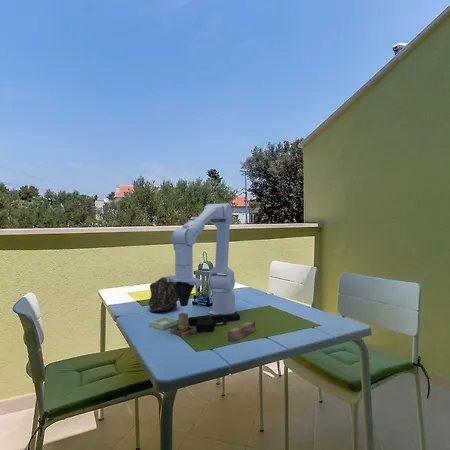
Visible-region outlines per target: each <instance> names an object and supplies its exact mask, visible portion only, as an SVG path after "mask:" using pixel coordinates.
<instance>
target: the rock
mask: <svg viewBox="0 0 450 450" xmlns="http://www.w3.org/2000/svg"><path fill="white" fill-rule="evenodd" d="M173 285H176V282H167V276H165V277H164V276H162V277H159V279H158V280H156V281H155V282H152V283H150V285H149V290H150V298H149V299H148V307H149V309H150V311H151V312H152V313H159V312H162V311H166V310H173V311H174V310H175V309H176V308H177V307H178V303H177V302H178V301H179V298H178V295H177V292H176V290H175V289H174V287H173Z"/></svg>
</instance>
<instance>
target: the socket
mask: <svg viewBox="0 0 450 450" xmlns="http://www.w3.org/2000/svg"><path fill="white" fill-rule="evenodd" d="M196 333H198V332H197V329H196V326H195V327H194V326H190V325H188V331H186V332H182V331H179V326H175V327H172V328H170V329H169V334H171V335H175V336H178V337H182V338H186V337H188V336H191V335H194V334H196Z"/></svg>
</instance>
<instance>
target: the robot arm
mask: <svg viewBox="0 0 450 450" xmlns="http://www.w3.org/2000/svg"><path fill="white" fill-rule="evenodd" d="M233 212H234V211H233V207H232V205H231V204H230V203H228V202H225V203H207V204H206V205H205V206H204V207H203V211H202V212H201V213H200V214H199V216H191V217H190V218H189V220H188V221H187V222H186V223H184V224H183V225H182V227H180V228H179V227H178V228H176V229H174V230H173V231H172V235H171V236H170V239H171V243H172V245H173V250H174V254H175V255H174V260H175V261H174V264H175V265H174V267H175V268H174V271H175V273H174V274H175V275H167V276H166V277H167V282H176V285H173V287H174V289H175V290H176V292H177V295H178V301H179V304H180V307H186V306H188V305H189V300H190V297H191V294H192V291H193V290H194V288H195V287H202V286H203V279H200V278H198V277H197V278H196V277H193V274H194V273H193V268H194V267H193V266H194V265H193V261H194V260H193V253H194V252H193V248H194V247H193V245H195V244H196V241H197V238H198V236H199V235H200V234H201V233H202V232H203V231H204V230H205V225H207V223H208V222H210V223H211V224H212V225H214V226H215V227H216V241H215V263H214V264H215V265H214V267H213V268H212V269H210V270H209V276H208V278H207V285H208V288H209V289H210V292H212V310H209V311H208V312H207V314H210V315H216V314H226V313H237V312H238V310H237V309H236V294H235V291H234V288H235V285H236V280H235V272H234V271H233V270H232V269H231V268H230V267H229V248H230V247H229V246H230V226H231V225H232V224H233Z"/></svg>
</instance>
